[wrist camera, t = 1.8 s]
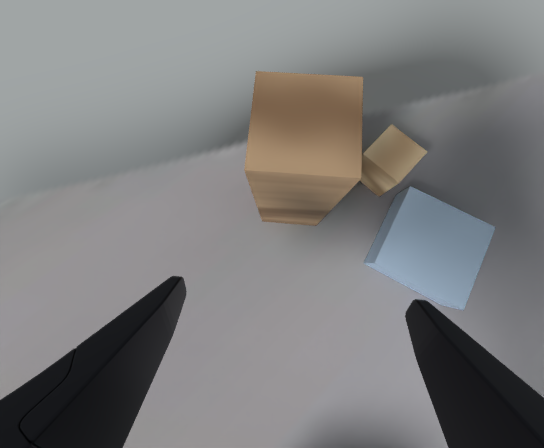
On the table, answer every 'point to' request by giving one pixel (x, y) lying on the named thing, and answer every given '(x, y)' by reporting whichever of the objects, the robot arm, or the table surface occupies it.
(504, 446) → the robot arm
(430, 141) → the table surface
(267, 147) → the walnut block
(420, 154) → the cube
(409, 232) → the base slab
